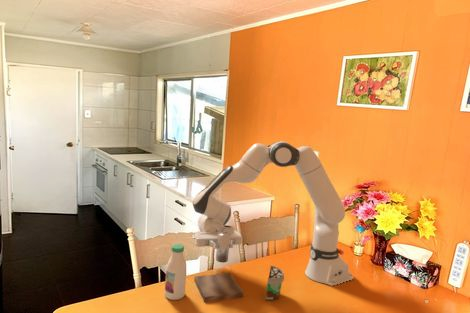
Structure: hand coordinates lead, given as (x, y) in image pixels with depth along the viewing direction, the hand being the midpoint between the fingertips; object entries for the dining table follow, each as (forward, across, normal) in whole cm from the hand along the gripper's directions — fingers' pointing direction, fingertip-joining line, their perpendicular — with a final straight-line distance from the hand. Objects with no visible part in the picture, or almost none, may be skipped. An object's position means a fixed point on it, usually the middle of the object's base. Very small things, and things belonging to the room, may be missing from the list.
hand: (223, 246), depth 135 cm
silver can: (-1, 0, +6) cm, 6 cm away
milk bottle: (+1, -19, +19) cm, 27 cm away
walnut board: (0, -1, +18) cm, 18 cm away
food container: (+10, +20, +18) cm, 29 cm away
